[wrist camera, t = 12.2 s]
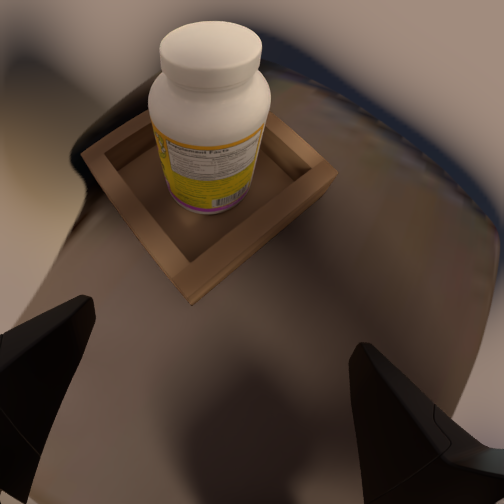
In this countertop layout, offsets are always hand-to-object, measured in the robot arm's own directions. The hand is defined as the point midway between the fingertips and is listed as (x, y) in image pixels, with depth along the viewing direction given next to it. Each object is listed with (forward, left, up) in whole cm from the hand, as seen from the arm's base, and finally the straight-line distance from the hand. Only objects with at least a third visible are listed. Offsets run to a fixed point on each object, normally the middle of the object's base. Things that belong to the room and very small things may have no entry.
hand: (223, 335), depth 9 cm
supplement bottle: (+10, -7, -11) cm, 16 cm away
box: (+10, -7, -12) cm, 17 cm away
